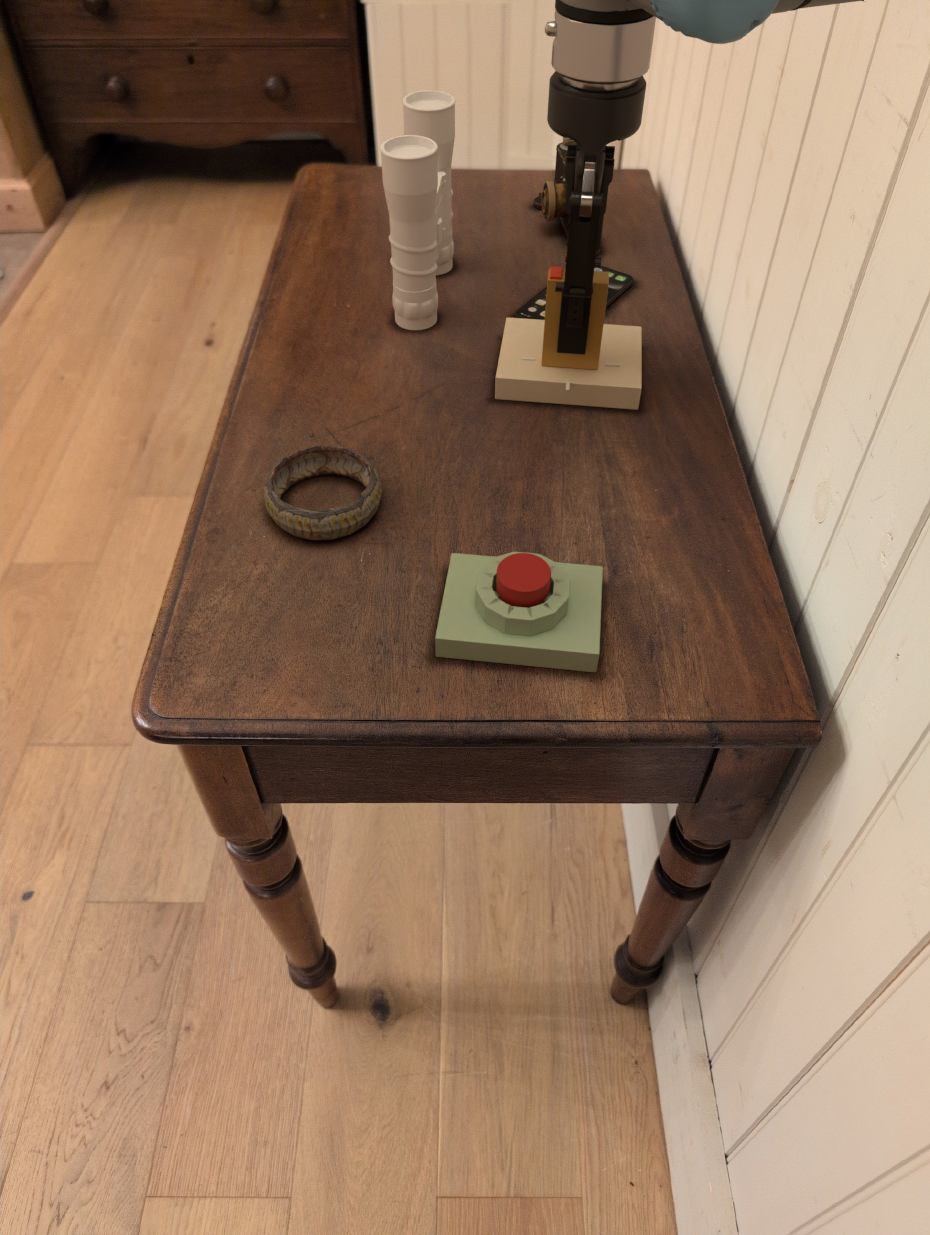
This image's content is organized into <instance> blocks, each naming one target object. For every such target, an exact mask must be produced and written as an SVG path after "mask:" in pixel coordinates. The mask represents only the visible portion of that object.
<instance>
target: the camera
mask: <svg viewBox="0 0 930 1235" xmlns="http://www.w3.org/2000/svg"><path fill="white" fill-rule="evenodd" d="M568 144H577V143H576V142H575V141H574V140H572V139H570V138H564V137H562V142H559V143H557V145H556V146H555V147H556V148H555V150H556V153H555V167H554V168H555V169H554V181H552V180H546V181H544V183H543V188H542V192H538V196H536V197H535V198H533V201H532V202H533V206H534V208H536V209H538V210H541V211H542V212H543V213H542V214H543V218H544V220H545V221H546V222H551V221H553V220H554V219H555V218H559V220H560V222H561V224H562V227H563V230H564V232H565V234H566V237H567V238H568V235H569V223H570V216H569V215H568V214H567V213H566V212H565V202H566V191H567V182H566V180H565V166H566V156H567V148H568ZM604 218H605V214H604V215H603V216H602V217H600V223H599V232H598V240H597V249H596V256H597V255H599V254H600V253H601V249H602V248H601V247H602V246H601V244H602V238H603V237H602V236H603V228H604V220H605V219H604Z"/></svg>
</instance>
